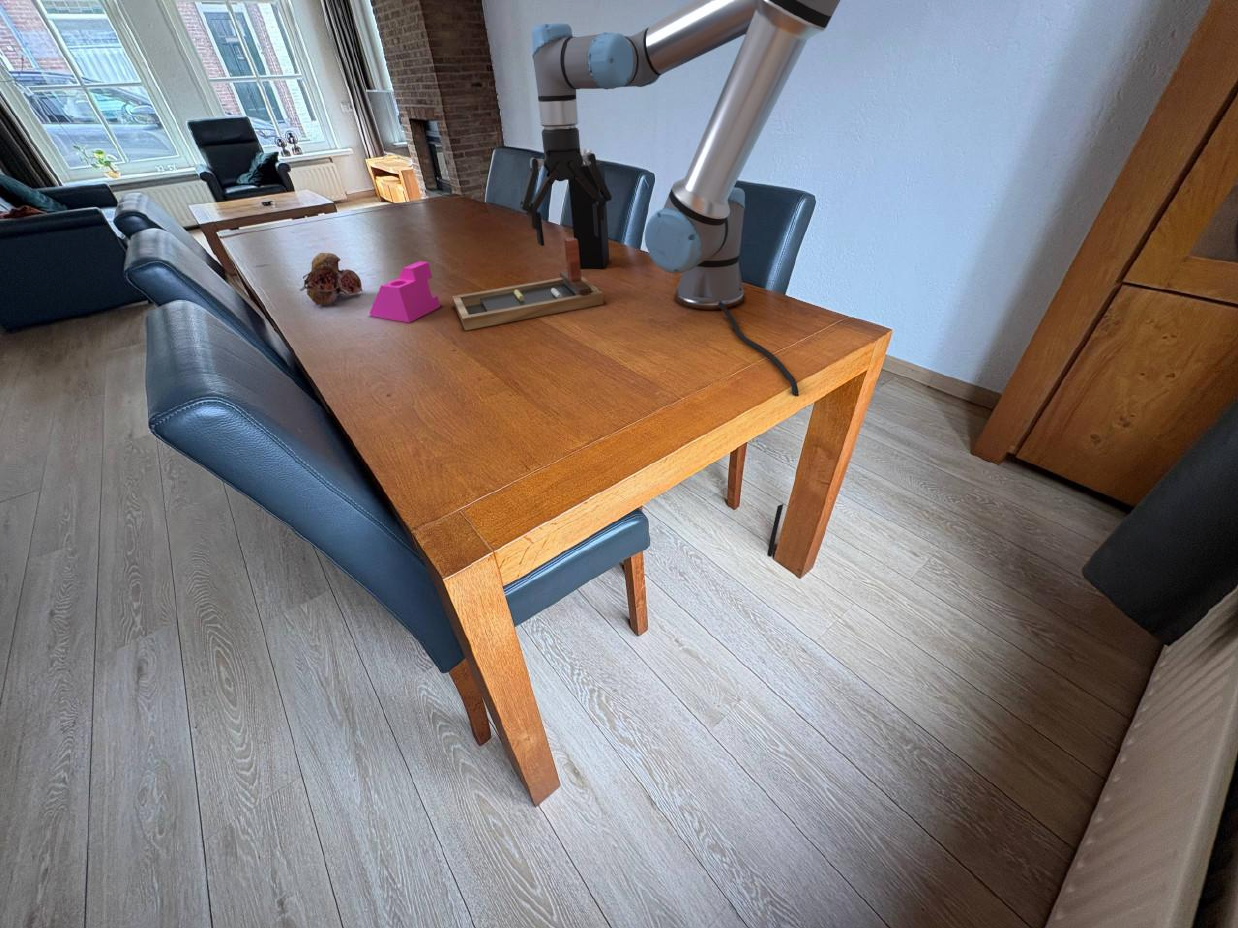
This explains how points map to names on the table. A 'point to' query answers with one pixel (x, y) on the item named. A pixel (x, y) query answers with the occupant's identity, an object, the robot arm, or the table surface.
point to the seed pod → (329, 280)
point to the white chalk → (556, 293)
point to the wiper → (573, 268)
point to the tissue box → (588, 220)
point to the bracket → (406, 295)
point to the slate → (521, 303)
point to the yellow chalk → (519, 295)
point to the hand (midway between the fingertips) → (570, 240)
